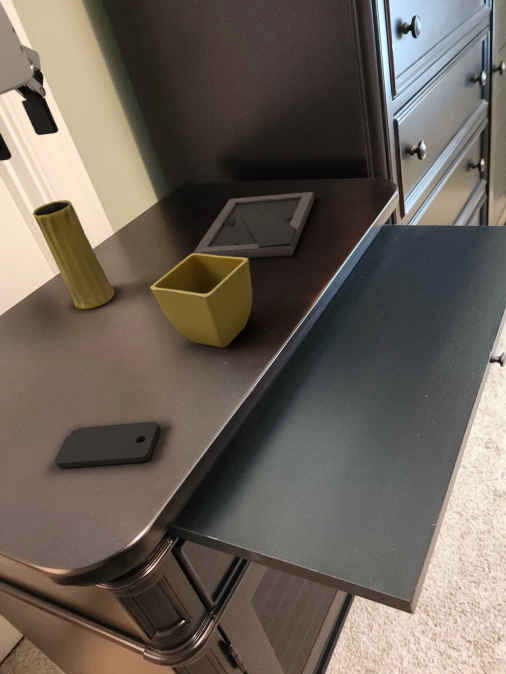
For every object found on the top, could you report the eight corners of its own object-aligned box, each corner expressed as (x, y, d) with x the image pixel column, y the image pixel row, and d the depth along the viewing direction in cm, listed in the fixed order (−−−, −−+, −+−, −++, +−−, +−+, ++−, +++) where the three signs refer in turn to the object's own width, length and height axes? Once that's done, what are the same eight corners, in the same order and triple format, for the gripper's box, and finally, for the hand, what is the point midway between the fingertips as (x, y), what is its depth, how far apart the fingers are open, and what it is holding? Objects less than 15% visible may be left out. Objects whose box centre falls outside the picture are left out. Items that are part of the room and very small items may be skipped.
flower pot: (172, 349, 66) (147, 286, 60) (211, 312, 72) (191, 251, 66) (228, 361, 62) (208, 296, 56) (265, 321, 68) (250, 257, 62)
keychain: (70, 428, 56) (158, 420, 55) (73, 432, 57) (161, 425, 55) (52, 463, 53) (146, 456, 51) (55, 468, 53) (148, 461, 52)
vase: (123, 292, 80) (83, 200, 71) (92, 313, 77) (46, 219, 67) (97, 286, 83) (55, 197, 74) (67, 306, 80) (19, 215, 70)
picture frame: (292, 255, 80) (314, 200, 95) (290, 243, 79) (312, 189, 94) (196, 261, 84) (231, 207, 99) (192, 249, 83) (229, 196, 98)
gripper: (-31, -32, 60) (41, 127, 72) (-157, -14, 48) (-47, 174, 60) (21, -45, 58) (87, 121, 70) (-97, -30, 46) (5, 169, 57)
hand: (25, 146), depth 65 cm, fingers open, 9 cm apart
